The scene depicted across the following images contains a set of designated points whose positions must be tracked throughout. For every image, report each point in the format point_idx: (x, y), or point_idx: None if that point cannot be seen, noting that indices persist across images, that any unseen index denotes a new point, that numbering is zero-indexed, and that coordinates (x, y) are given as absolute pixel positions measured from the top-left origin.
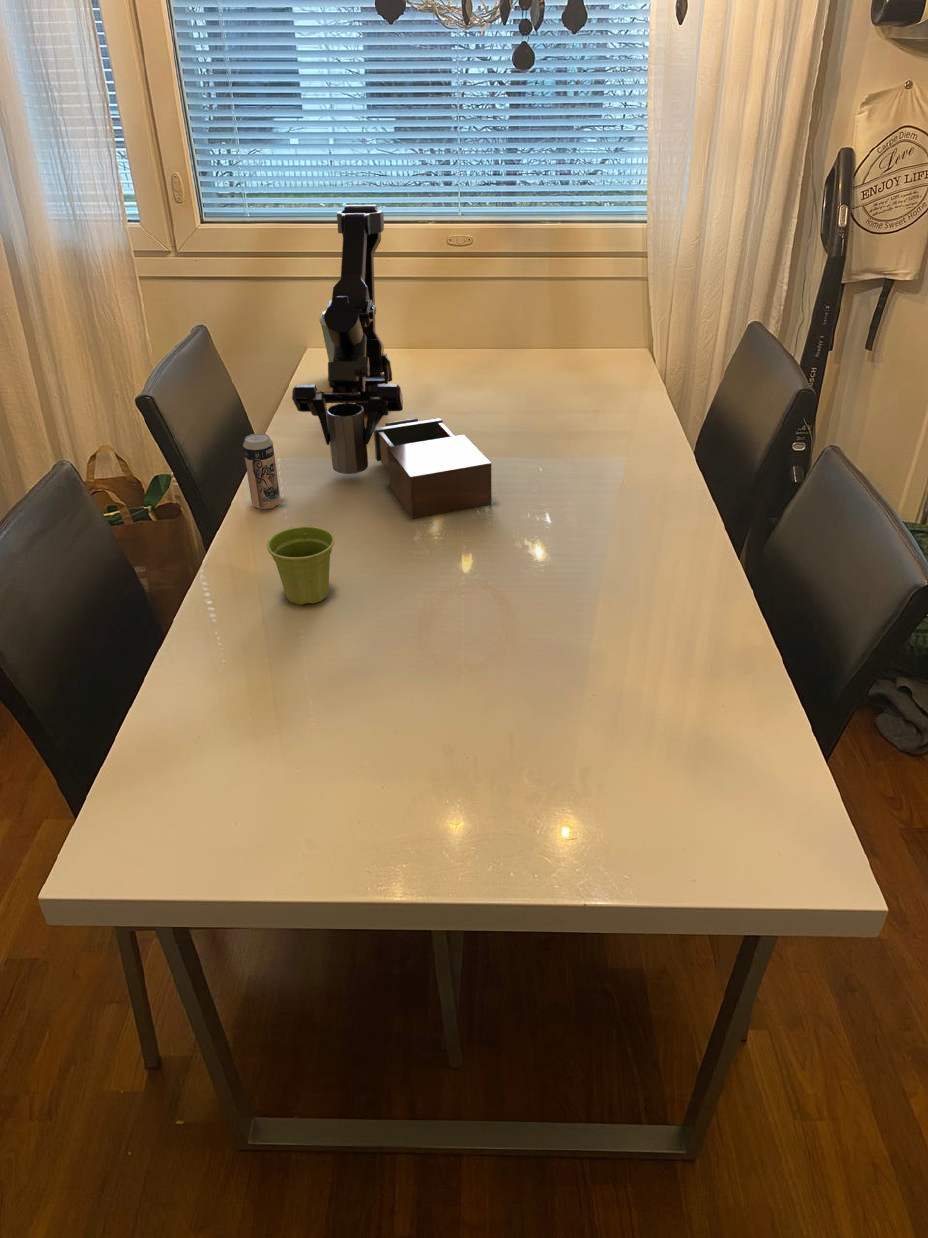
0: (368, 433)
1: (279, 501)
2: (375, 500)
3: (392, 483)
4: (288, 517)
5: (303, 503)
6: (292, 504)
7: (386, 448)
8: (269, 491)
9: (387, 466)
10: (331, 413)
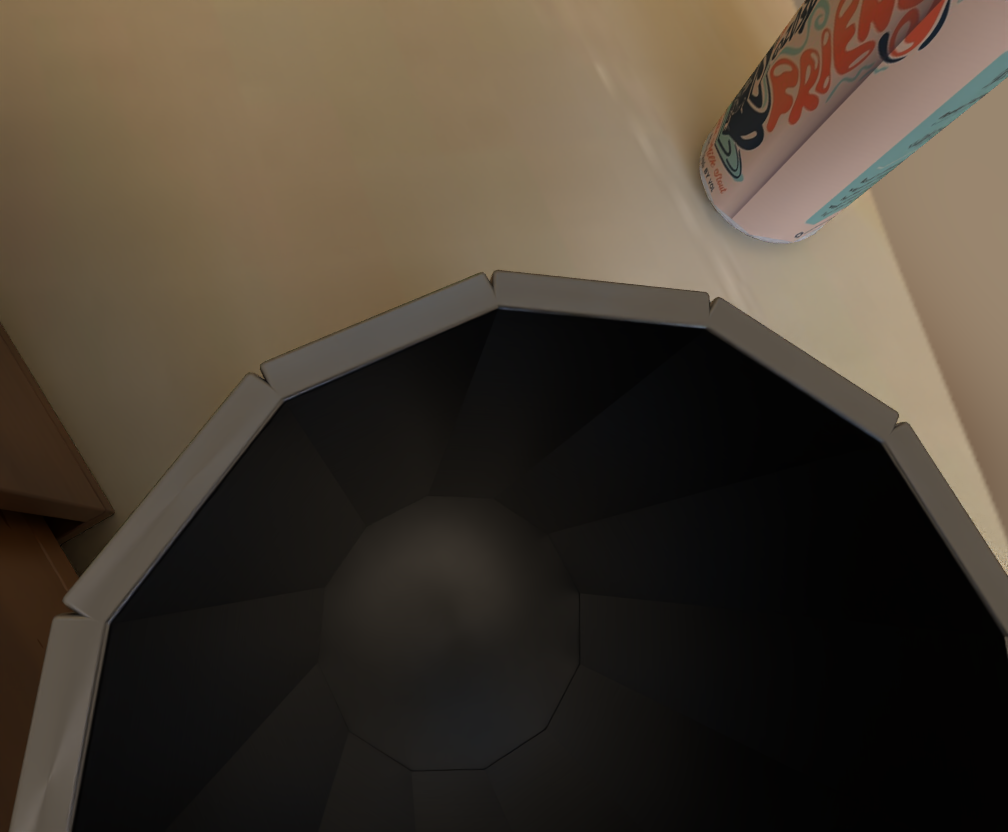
0: None
1: (706, 180)
2: (176, 306)
3: (36, 425)
4: (595, 79)
5: (589, 220)
6: (639, 203)
7: (23, 746)
8: (763, 58)
9: None
10: (902, 767)
